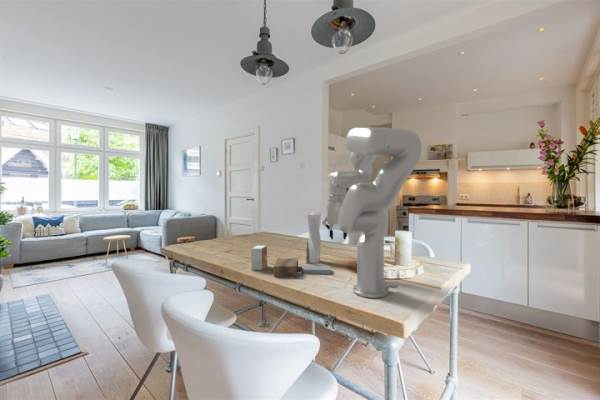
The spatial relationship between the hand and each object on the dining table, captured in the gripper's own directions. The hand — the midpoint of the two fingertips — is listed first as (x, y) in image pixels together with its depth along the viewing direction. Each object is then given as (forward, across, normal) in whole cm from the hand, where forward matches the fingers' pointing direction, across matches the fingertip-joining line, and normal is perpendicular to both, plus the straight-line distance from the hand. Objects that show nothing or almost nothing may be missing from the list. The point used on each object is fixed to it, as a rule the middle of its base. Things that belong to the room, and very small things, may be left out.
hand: (338, 238), depth 124 cm
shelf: (+15, +24, 0) cm, 29 cm away
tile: (+16, +10, 0) cm, 19 cm away
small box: (+16, +38, -7) cm, 42 cm away
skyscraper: (+16, +11, -19) cm, 27 cm away
